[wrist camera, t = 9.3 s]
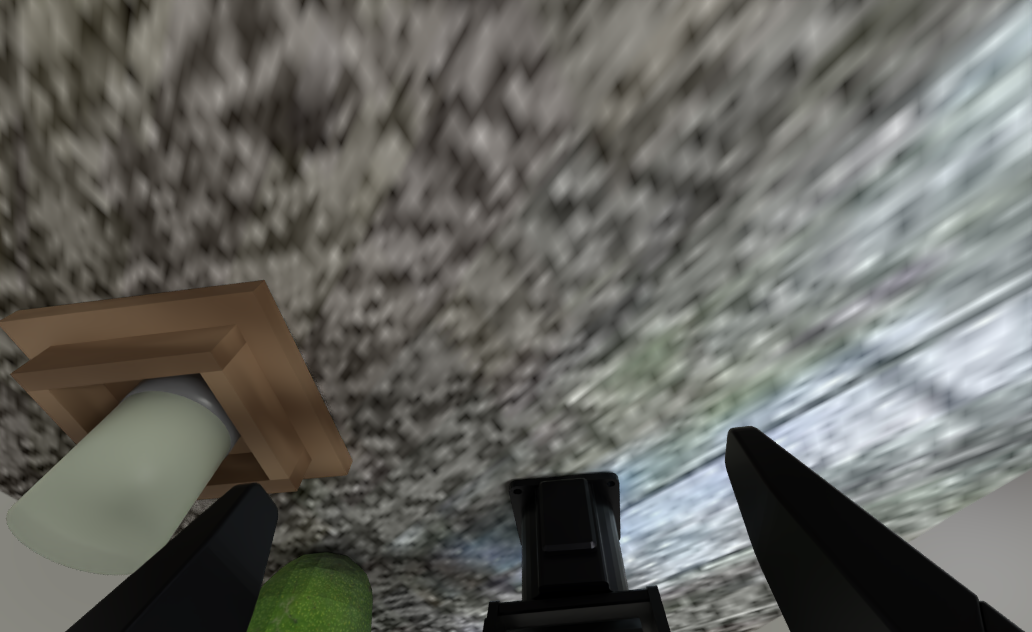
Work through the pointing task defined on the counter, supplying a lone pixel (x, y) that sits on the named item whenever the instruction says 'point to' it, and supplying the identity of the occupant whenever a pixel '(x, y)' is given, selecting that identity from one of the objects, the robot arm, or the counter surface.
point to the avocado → (315, 597)
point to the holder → (187, 350)
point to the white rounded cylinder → (128, 479)
